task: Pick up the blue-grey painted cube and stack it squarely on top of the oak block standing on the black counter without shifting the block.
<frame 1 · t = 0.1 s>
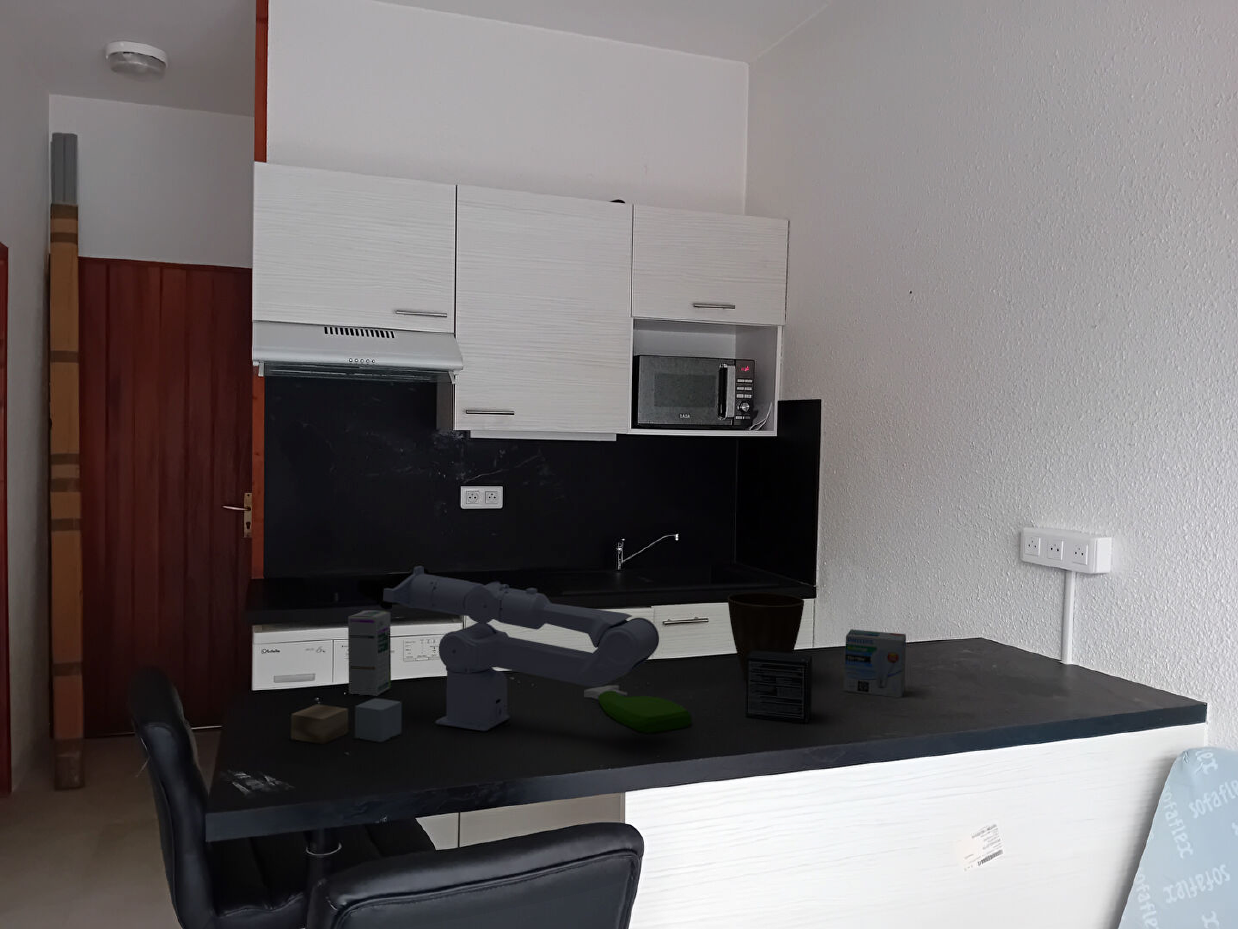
hand: (373, 582, 159), 22 cm above the countertop, tool horizontal, fingers open, 7 cm apart
syrup box: (369, 692, 169), on the countertop
plant pot: (764, 680, 182), on the countertop
oak block: (319, 737, 144), on the countertop
light bulb box: (874, 691, 175), on the countertop
small box: (778, 717, 158), on the countertop
blue-grey cube: (378, 735, 144), on the countertop
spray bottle: (631, 714, 159), on the countertop
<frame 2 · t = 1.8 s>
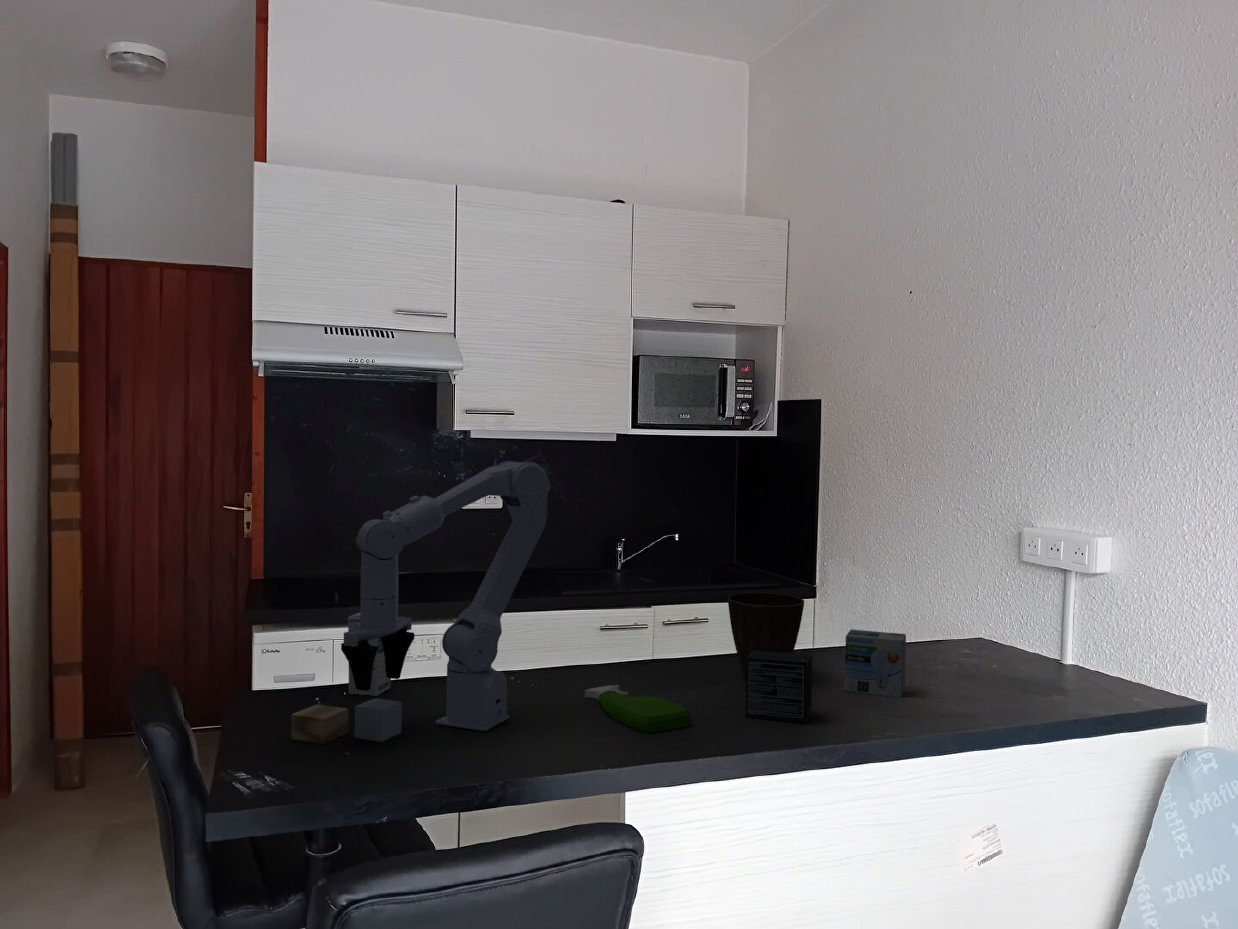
hand: (378, 683, 144), 8 cm above the countertop, tool pointing down, fingers open, 7 cm apart
nothing on the countertop moved.
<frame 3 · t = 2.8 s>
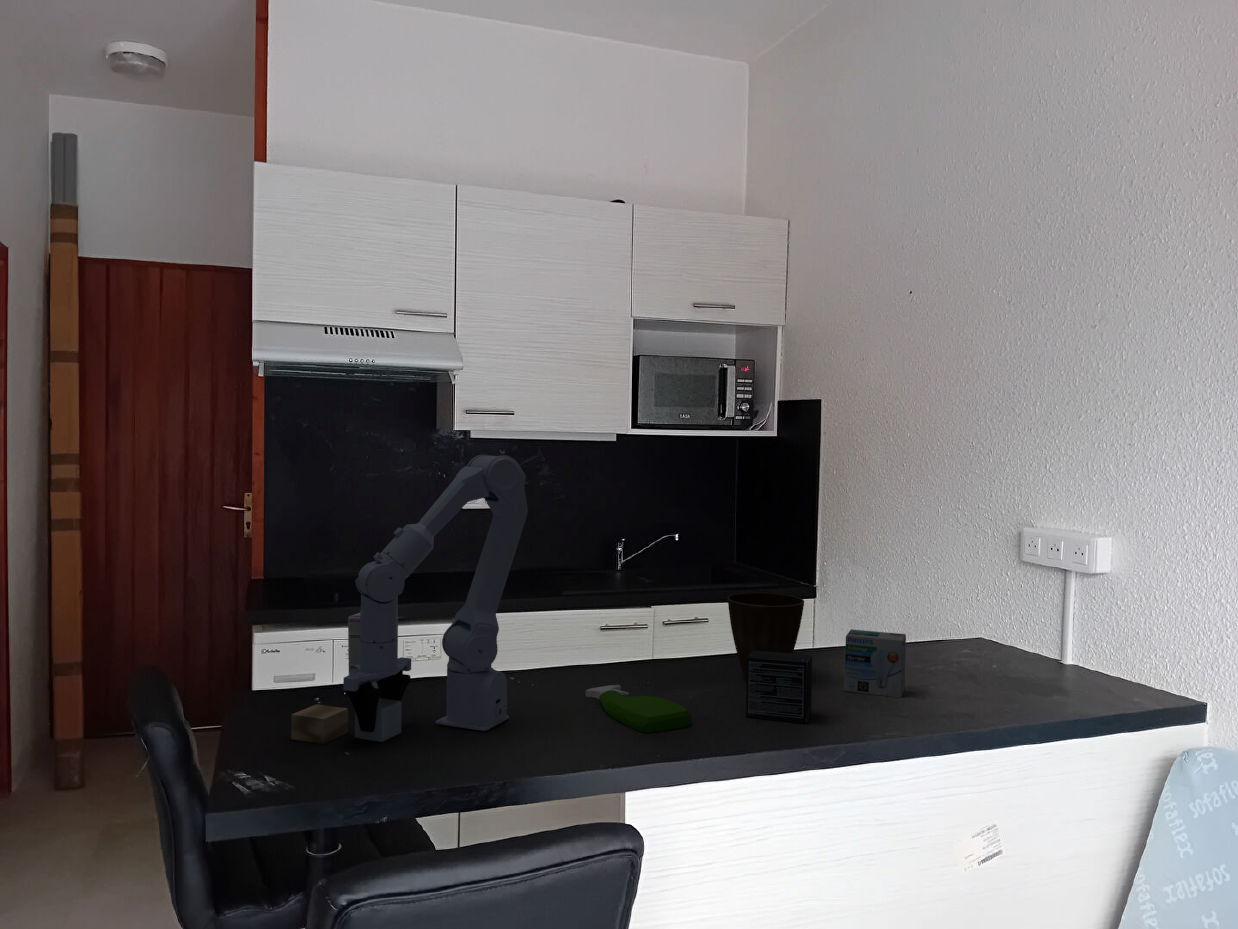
hand: (378, 726, 144), 1 cm above the countertop, tool pointing down, fingers closed on blue-grey cube, 5 cm apart
blue-grey cube: (378, 735, 144), on the countertop, touching gripper
everything else where it was.
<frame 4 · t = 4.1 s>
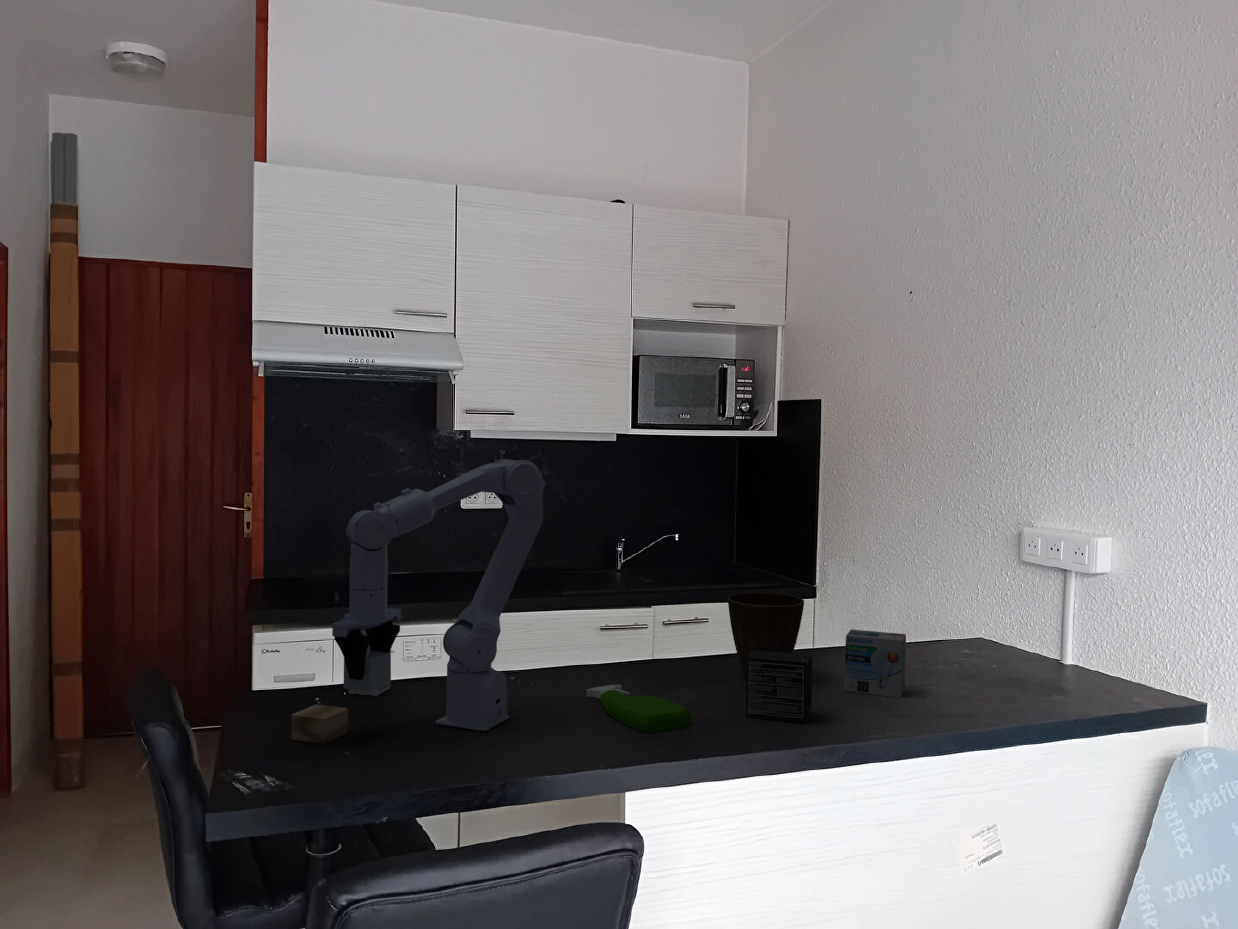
hand: (367, 674, 144), 9 cm above the countertop, tool pointing down, fingers closed on blue-grey cube, 5 cm apart
blue-grey cube: (367, 686, 144), point 8 cm above the countertop, touching gripper
everything else where it was.
when the fingers open (6 cm above the countertop, at t = 5.6 s): blue-grey cube stays where it is, point 4 cm above the countertop.
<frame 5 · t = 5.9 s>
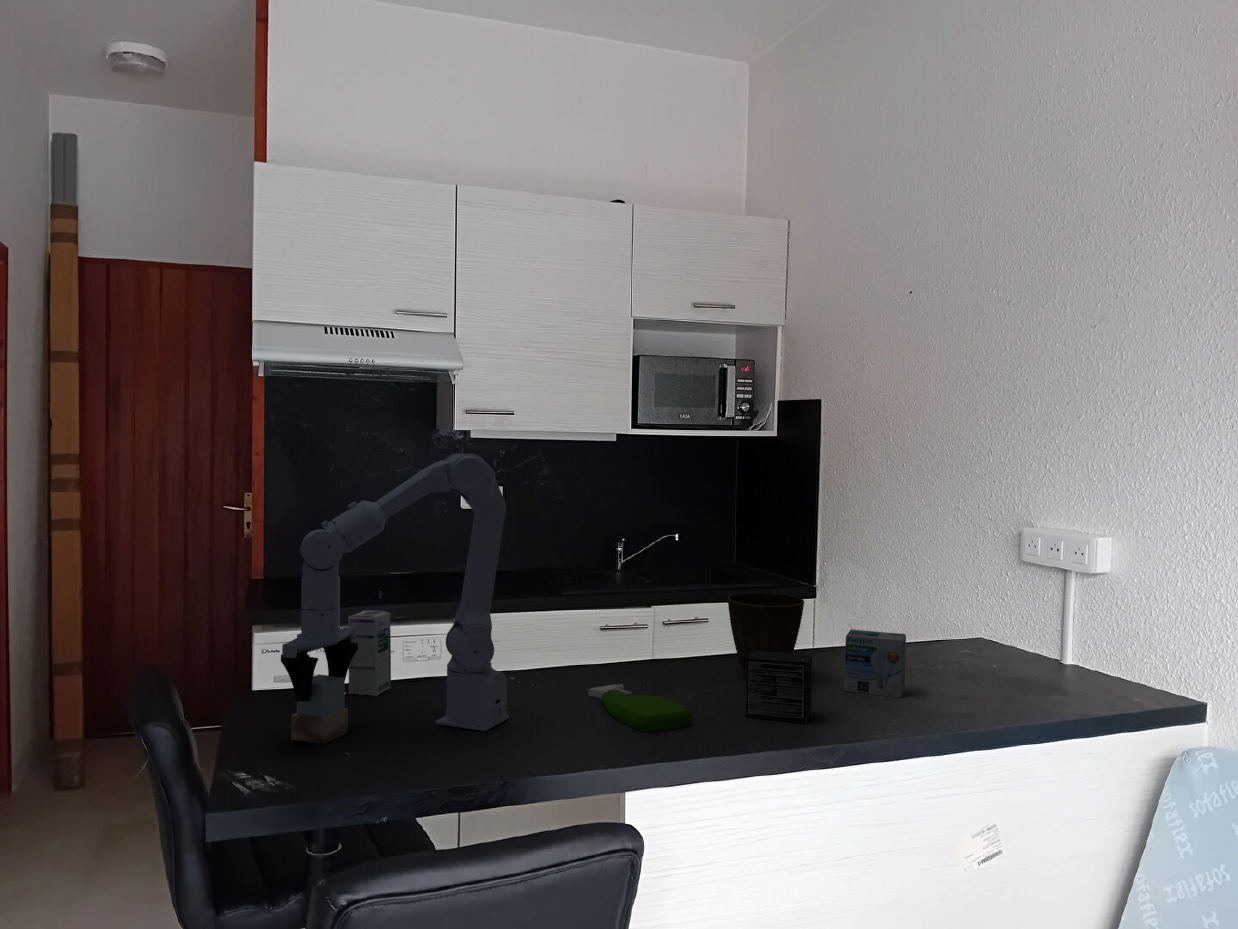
hand: (320, 694, 144), 6 cm above the countertop, tool pointing down, fingers open, 7 cm apart
blue-grey cube: (320, 711, 144), point 4 cm above the countertop
everything else where it was.
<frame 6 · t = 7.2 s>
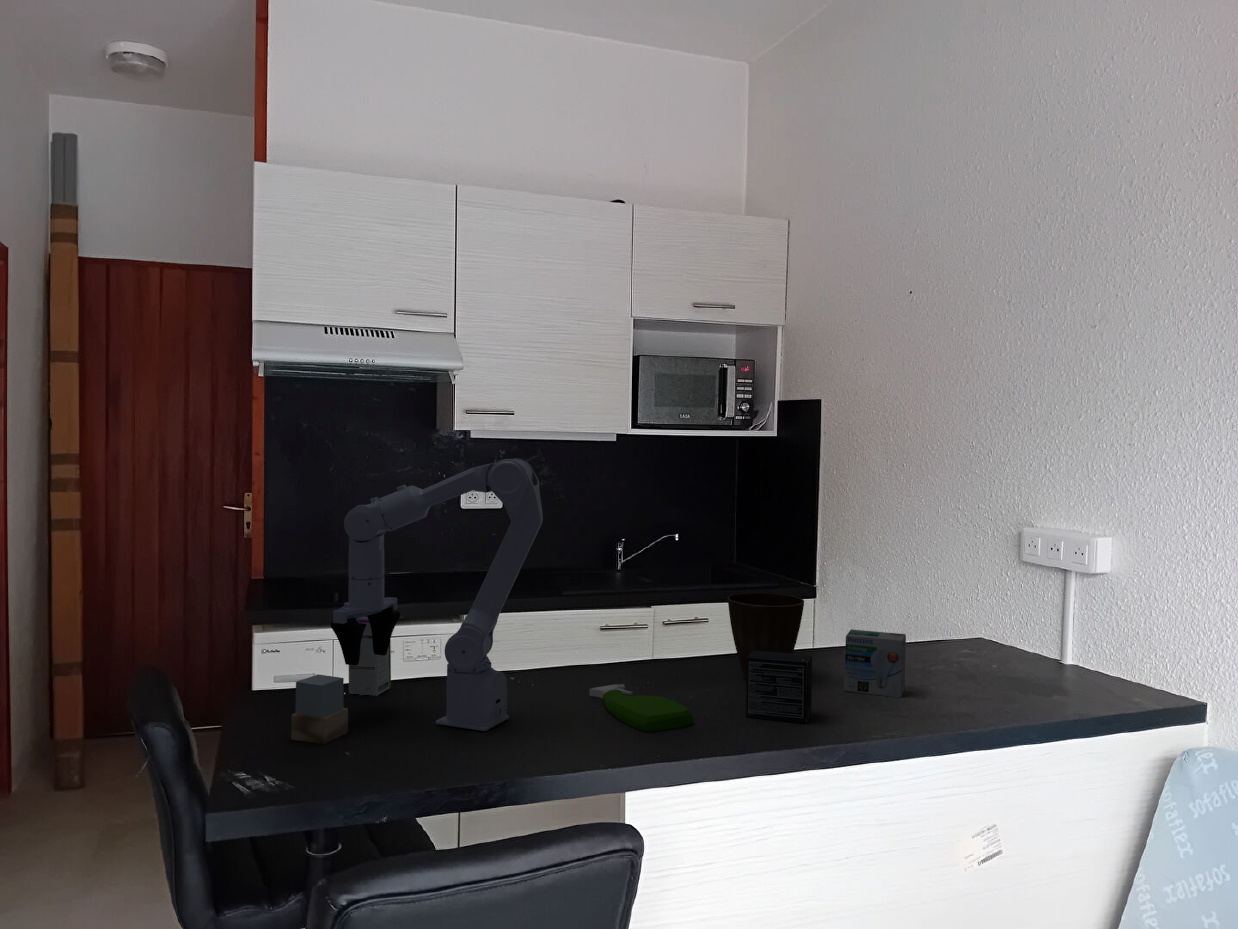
hand: (366, 659, 153), 10 cm above the countertop, tool pointing down, fingers open, 7 cm apart
oak block: (320, 737, 144), on the countertop, touching blue-grey cube
blue-grey cube: (319, 711, 143), point 4 cm above the countertop, touching oak block
everything else where it was.
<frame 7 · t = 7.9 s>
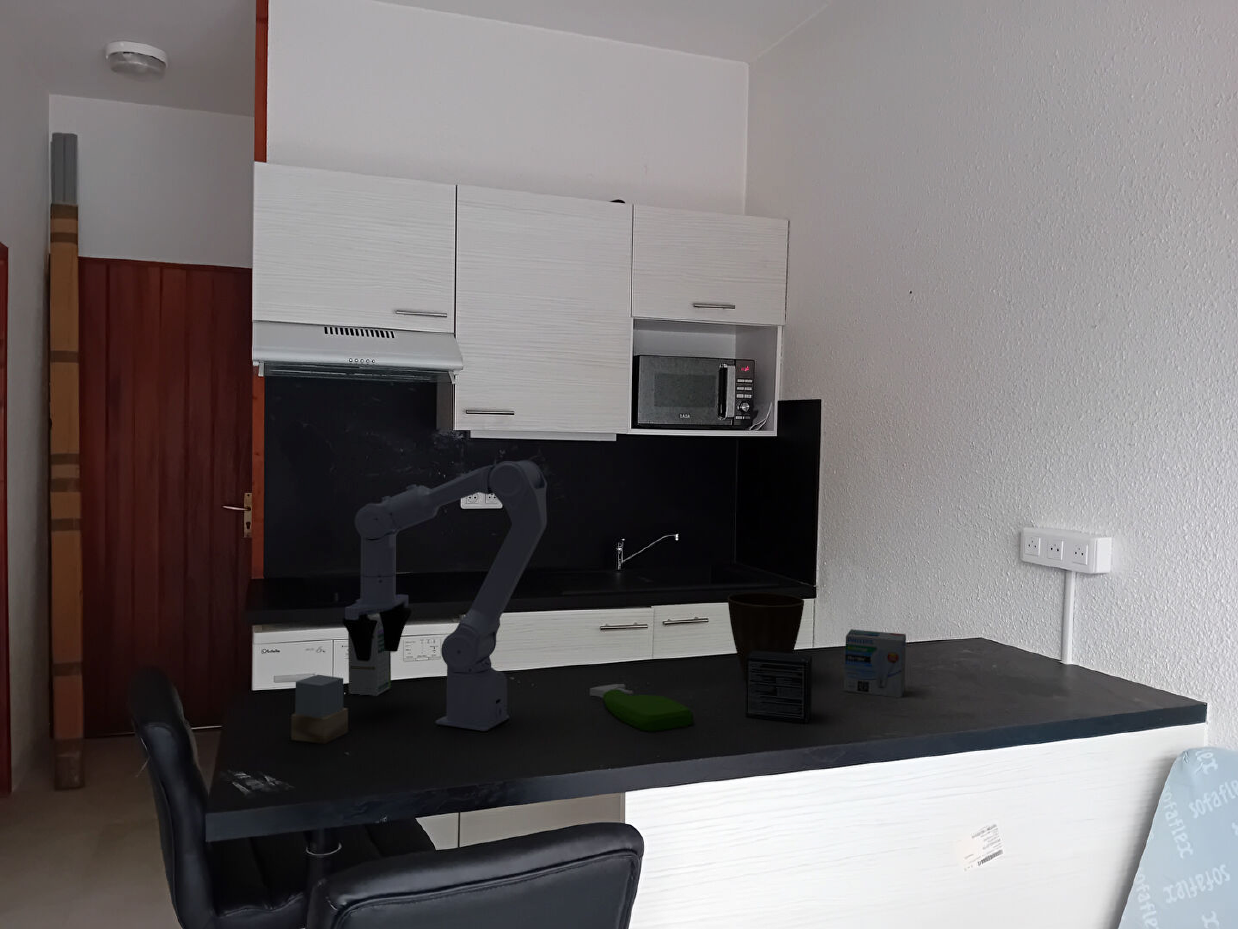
hand: (377, 655, 155), 10 cm above the countertop, tool pointing down, fingers open, 7 cm apart
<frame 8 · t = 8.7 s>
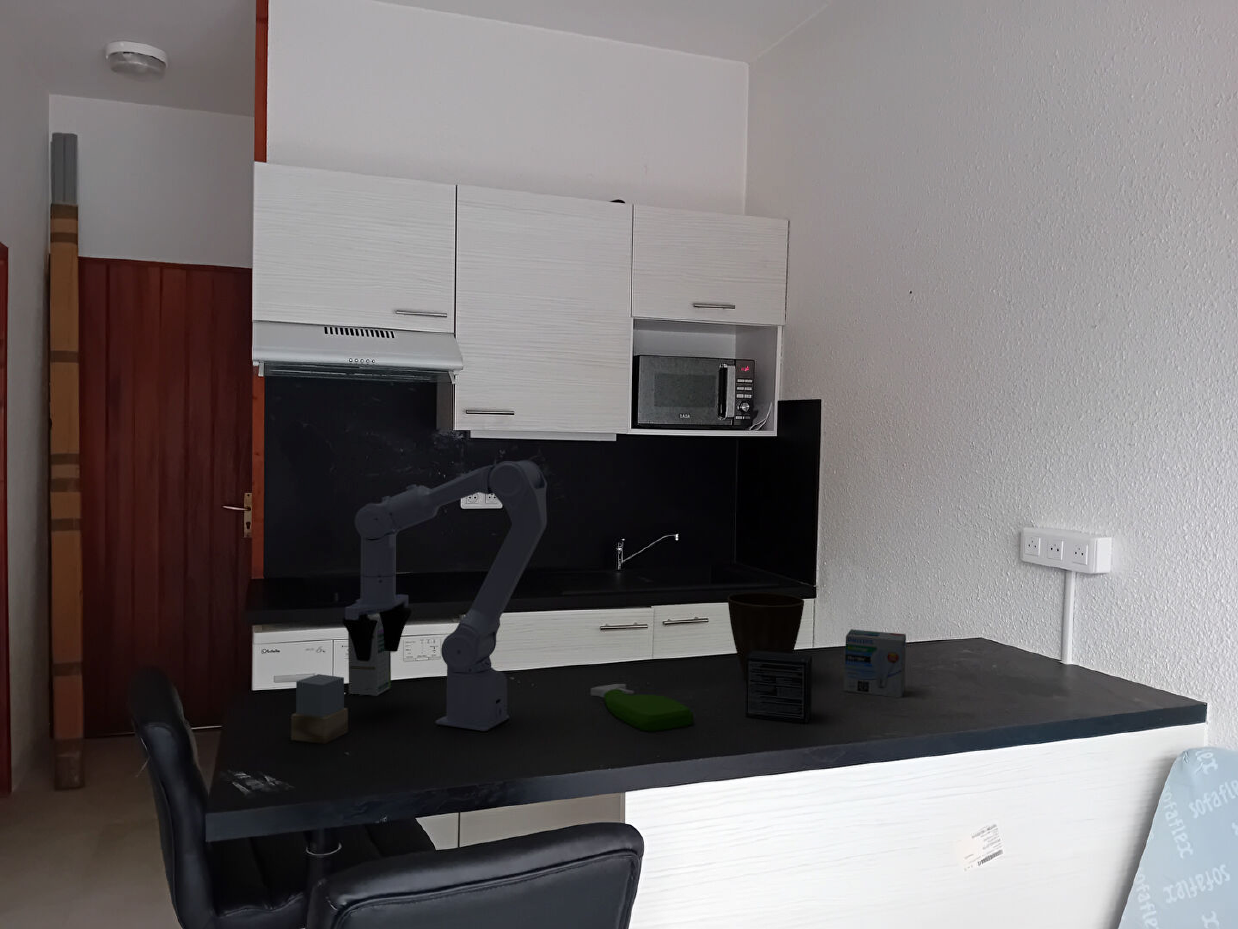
hand: (377, 655, 155), 10 cm above the countertop, tool pointing down, fingers open, 7 cm apart
at the end: blue-grey cube 0.0 cm off-centre on the oak block, point 4.0 cm above the oak block's base; blue-grey cube tilted 0°; oak block moved 0.2 cm from its start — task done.
